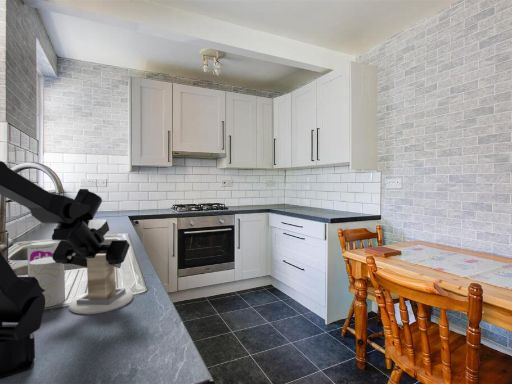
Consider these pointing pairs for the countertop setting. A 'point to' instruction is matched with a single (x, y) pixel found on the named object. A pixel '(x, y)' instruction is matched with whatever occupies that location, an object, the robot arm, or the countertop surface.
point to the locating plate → (100, 302)
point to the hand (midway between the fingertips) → (104, 266)
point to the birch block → (100, 278)
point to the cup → (49, 279)
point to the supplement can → (41, 250)
